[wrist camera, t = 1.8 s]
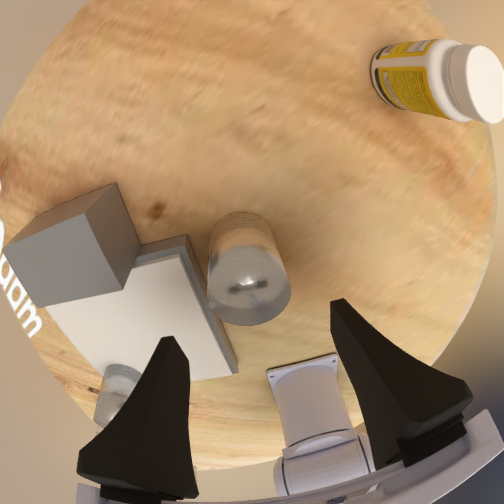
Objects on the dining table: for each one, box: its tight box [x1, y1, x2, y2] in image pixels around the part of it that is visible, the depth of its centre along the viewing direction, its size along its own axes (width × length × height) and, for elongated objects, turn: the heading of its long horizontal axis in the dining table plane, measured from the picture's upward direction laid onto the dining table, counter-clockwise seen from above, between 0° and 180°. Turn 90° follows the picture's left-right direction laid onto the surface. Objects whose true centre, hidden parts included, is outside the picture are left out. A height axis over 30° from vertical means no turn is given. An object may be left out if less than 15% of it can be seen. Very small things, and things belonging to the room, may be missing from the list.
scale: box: [2, 182, 239, 381], centre depth 19 cm, size 20×15×5 cm
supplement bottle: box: [371, 39, 504, 124], centre depth 10 cm, size 5×5×8 cm
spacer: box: [207, 212, 291, 326], centre depth 17 cm, size 4×4×6 cm
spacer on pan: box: [93, 364, 142, 428], centre depth 21 cm, size 4×4×6 cm
